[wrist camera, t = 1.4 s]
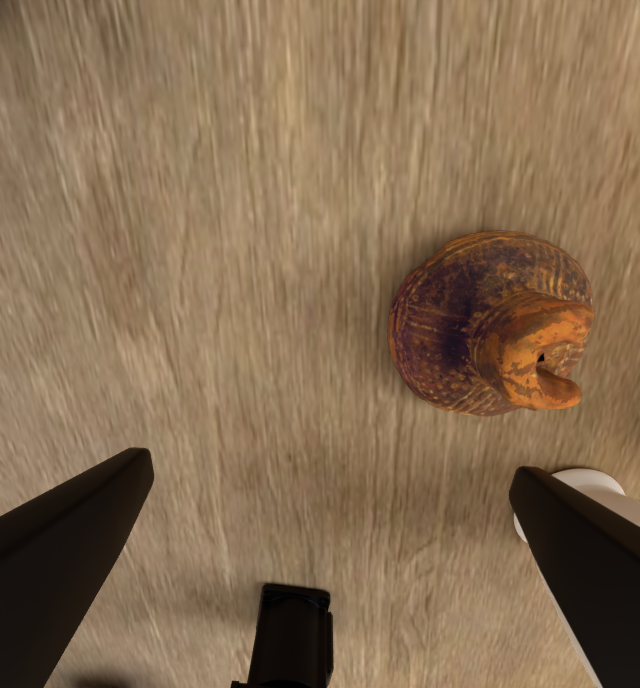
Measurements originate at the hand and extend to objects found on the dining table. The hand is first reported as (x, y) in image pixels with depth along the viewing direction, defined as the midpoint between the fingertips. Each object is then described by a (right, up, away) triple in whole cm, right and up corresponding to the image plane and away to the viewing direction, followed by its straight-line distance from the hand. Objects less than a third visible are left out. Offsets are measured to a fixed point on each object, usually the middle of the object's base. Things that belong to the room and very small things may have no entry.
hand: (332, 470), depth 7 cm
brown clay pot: (+10, +4, +12) cm, 16 cm away
